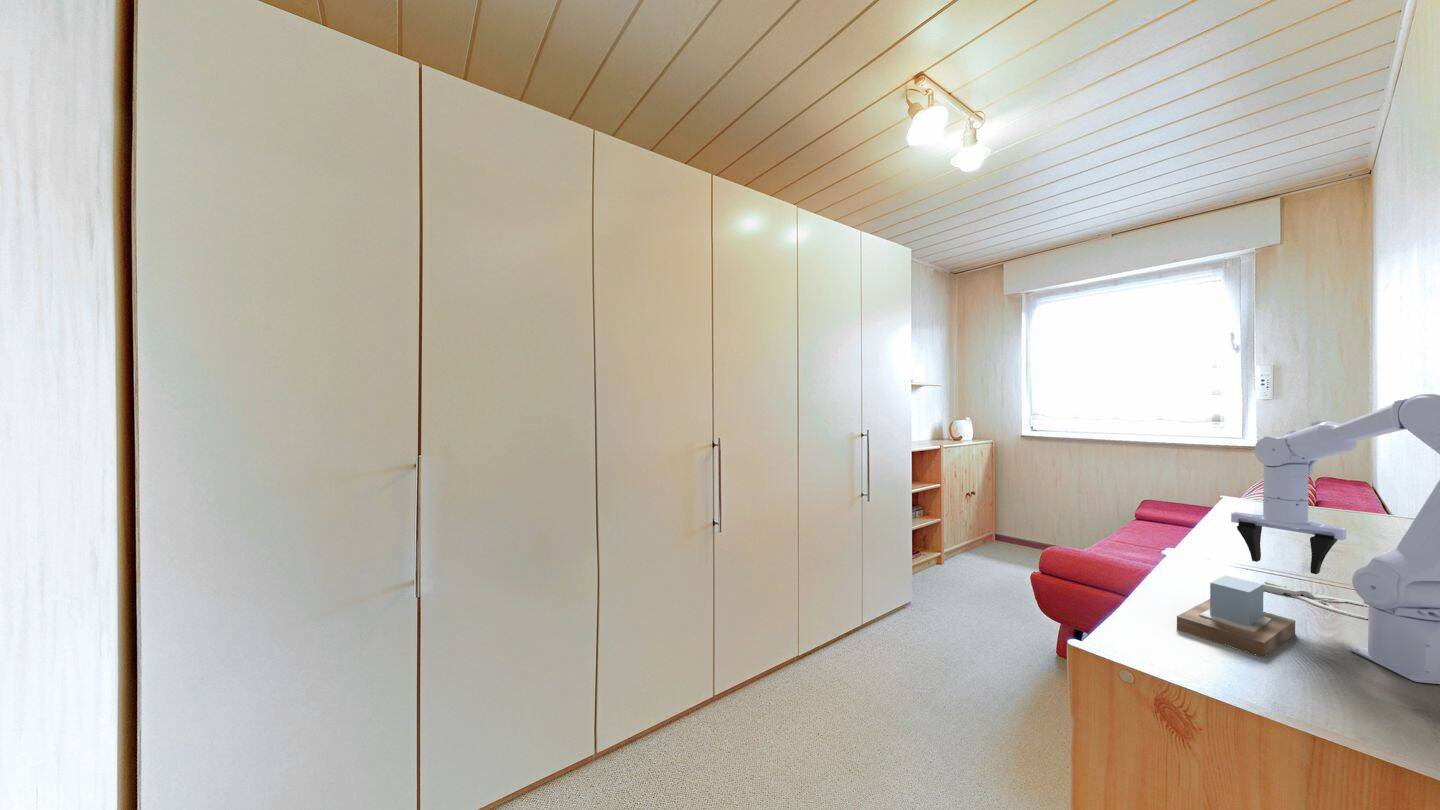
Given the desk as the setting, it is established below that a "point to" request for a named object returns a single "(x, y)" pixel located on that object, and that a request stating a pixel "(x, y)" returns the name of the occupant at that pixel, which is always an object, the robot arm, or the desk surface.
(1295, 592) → the pliers
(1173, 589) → the desk surface
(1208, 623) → the stand
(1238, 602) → the block
